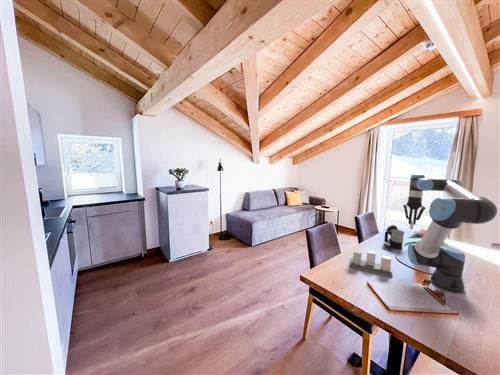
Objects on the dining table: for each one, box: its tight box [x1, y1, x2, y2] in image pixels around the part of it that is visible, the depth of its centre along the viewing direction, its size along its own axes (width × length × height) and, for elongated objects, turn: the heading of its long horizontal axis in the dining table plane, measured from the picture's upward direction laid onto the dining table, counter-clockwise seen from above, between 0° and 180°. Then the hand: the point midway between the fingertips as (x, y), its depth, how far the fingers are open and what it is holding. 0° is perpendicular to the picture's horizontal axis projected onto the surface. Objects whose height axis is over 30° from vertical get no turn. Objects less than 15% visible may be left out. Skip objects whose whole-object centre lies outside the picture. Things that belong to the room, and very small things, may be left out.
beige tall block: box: [380, 255, 392, 271], centre depth 139 cm, size 4×5×9 cm
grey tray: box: [349, 257, 394, 278], centre depth 146 cm, size 12×25×3 cm, turn 62°
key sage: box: [352, 249, 363, 265], centre depth 147 cm, size 4×5×9 cm
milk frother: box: [383, 229, 405, 251], centre depth 179 cm, size 14×16×15 cm
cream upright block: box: [365, 249, 377, 266], centre depth 147 cm, size 4×5×9 cm
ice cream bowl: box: [385, 224, 399, 241], centre depth 197 cm, size 11×11×15 cm
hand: (411, 228), depth 150 cm, fingers closed
